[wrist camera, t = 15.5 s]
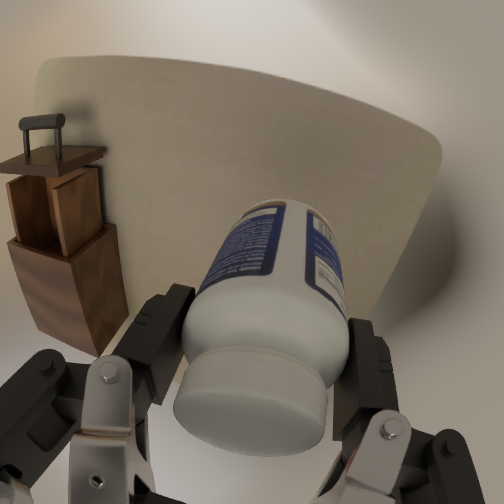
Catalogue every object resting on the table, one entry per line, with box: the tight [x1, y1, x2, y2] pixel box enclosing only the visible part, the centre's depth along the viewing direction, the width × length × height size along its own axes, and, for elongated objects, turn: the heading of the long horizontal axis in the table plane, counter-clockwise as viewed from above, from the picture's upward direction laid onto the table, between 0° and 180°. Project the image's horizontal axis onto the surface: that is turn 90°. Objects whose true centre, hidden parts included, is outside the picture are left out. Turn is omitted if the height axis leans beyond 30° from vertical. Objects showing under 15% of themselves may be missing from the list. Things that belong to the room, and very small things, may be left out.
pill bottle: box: [173, 199, 349, 457], centre depth 11 cm, size 5×5×10 cm
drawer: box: [0, 113, 103, 259], centre depth 29 cm, size 19×11×8 cm, turn 173°
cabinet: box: [7, 222, 129, 358], centre depth 36 cm, size 16×13×10 cm
